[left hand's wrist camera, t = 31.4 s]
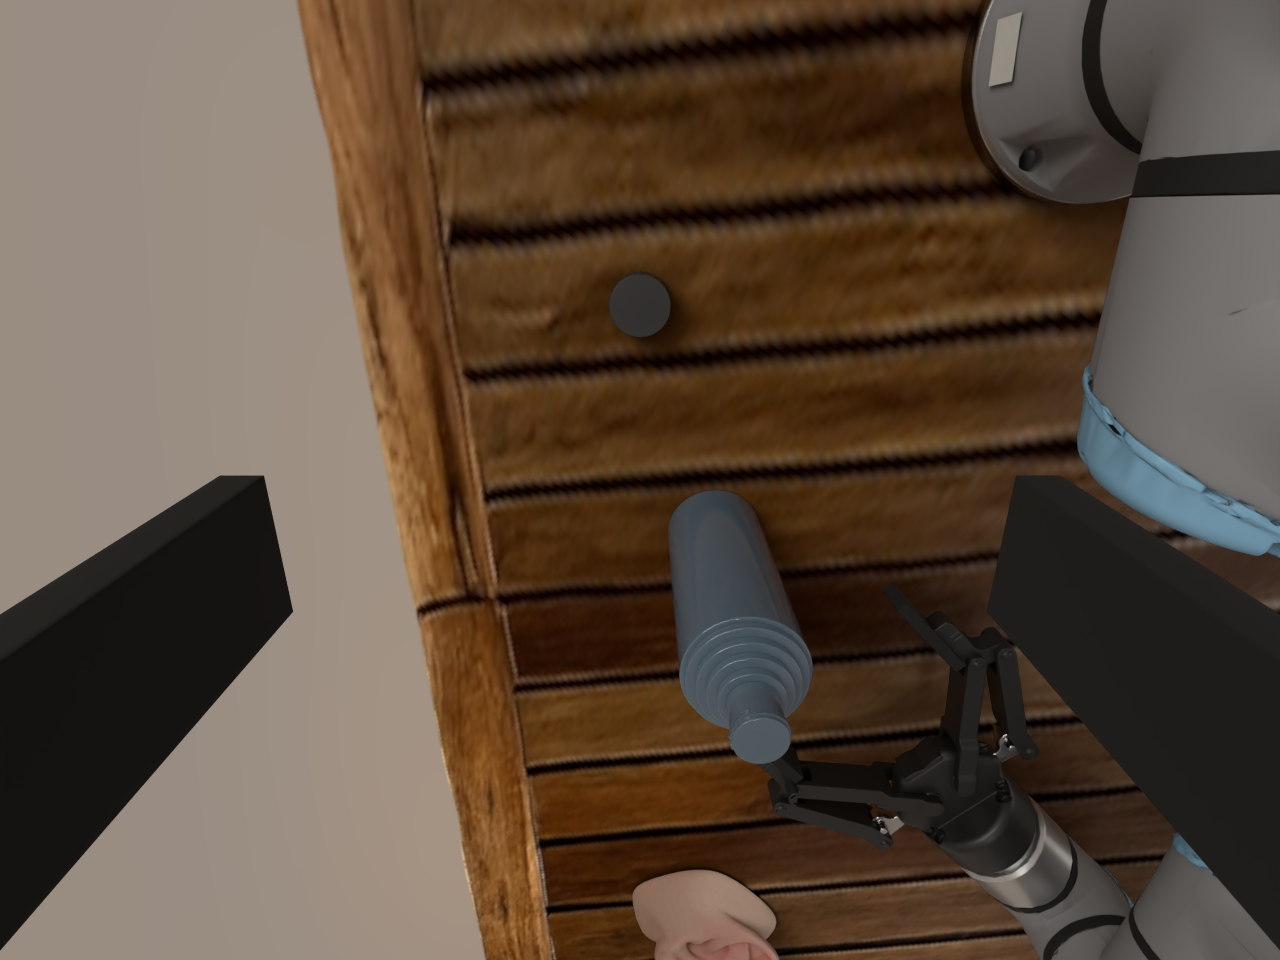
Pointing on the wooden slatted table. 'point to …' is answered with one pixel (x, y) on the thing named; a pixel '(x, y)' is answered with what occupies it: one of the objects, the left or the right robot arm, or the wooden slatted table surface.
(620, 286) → the cap
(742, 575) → the bottle
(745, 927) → the anatomical model
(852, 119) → the wooden slatted table surface
